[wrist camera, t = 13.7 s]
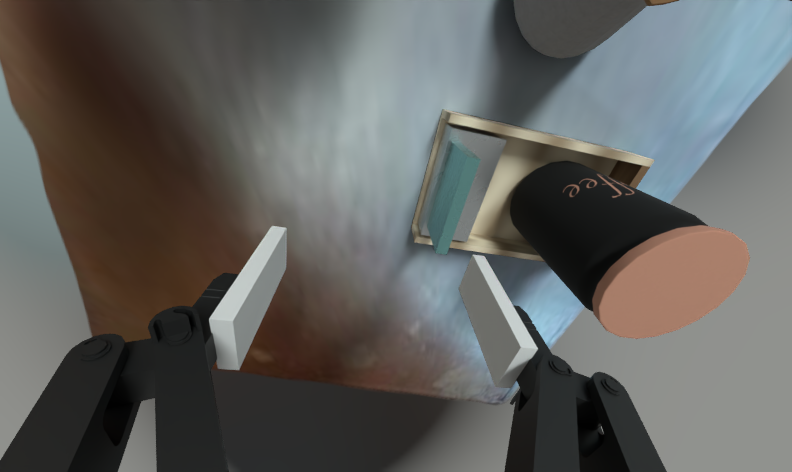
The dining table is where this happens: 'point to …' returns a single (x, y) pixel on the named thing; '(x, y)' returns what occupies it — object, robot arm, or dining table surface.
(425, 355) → the dining table surface
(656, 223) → the coffee jar
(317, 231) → the dining table surface
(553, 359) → the robot arm
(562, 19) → the coffee pot
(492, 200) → the channel
